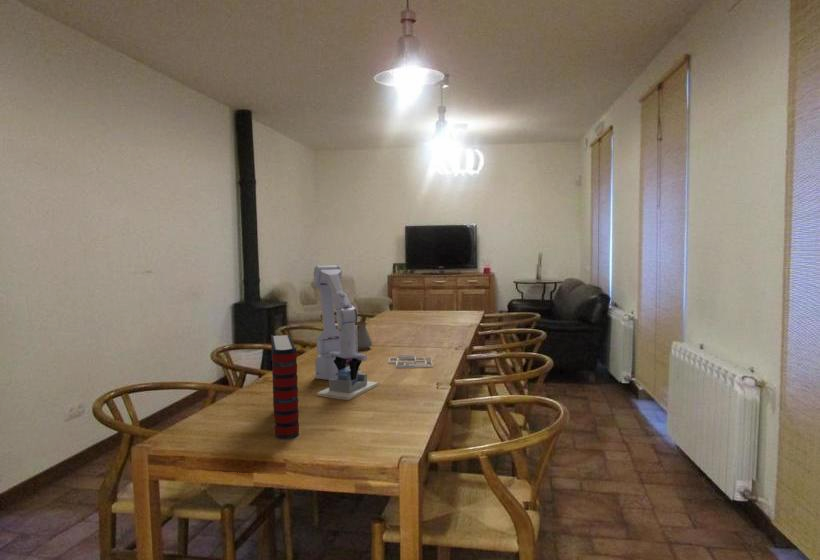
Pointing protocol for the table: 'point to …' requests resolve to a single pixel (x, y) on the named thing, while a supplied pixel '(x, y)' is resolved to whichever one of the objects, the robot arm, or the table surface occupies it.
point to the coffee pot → (363, 336)
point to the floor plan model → (410, 362)
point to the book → (285, 387)
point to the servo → (346, 374)
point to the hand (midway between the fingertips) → (348, 378)
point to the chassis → (347, 388)
